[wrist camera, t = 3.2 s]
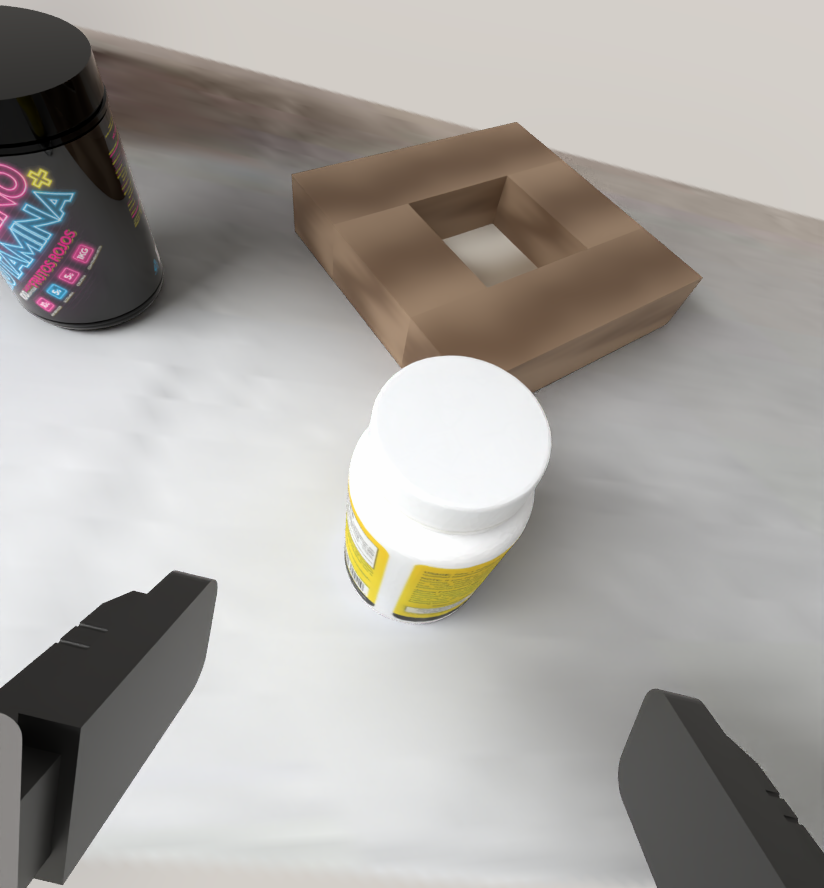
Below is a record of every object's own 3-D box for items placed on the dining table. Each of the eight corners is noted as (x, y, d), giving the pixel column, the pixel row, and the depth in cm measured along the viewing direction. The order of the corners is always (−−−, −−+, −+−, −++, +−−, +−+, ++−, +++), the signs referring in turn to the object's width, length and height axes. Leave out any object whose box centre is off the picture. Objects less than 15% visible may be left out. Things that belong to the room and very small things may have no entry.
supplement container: (-2, 270, 26) (-171, 18, 17) (132, 228, 29) (47, -7, 20) (53, 358, 24) (-108, 121, 15) (192, 303, 27) (126, 77, 18)
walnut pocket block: (295, 231, 30) (291, 174, 28) (501, 173, 37) (516, 121, 34) (452, 433, 25) (469, 388, 22) (666, 324, 31) (702, 277, 28)
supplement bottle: (498, 535, 22) (599, 400, 14) (443, 654, 19) (528, 575, 11) (385, 473, 23) (417, 311, 15) (315, 579, 20) (307, 454, 12)
